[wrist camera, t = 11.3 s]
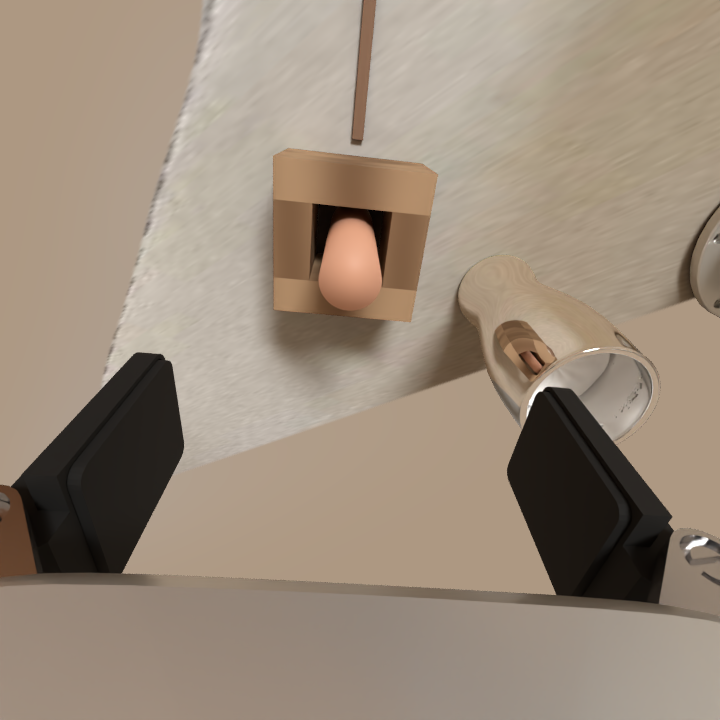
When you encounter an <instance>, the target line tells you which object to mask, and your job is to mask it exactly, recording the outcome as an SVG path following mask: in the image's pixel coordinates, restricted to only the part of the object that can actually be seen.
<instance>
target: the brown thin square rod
mask: <svg viewBox="0 0 720 720" xmlns="http://www.w3.org/2000/svg"><path fill="white" fill-rule="evenodd" d="M375 7H376V0H364V2H363V14H362V26H361V38H360V50H359V62H358V74H357V86H356V98H355V110H354V122H353V134H352V139H358V140H363V133H364V123H365V112H366V102H367V91H368V81H369V70H370V60H371V49H372V39H373V28H374V18H375Z"/></svg>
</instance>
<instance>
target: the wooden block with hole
mask: <svg viewBox="0 0 720 720" xmlns="http://www.w3.org/2000/svg"><path fill="white" fill-rule="evenodd" d="M437 177H438V174H436V173H435V172H433V171H432V170H431V169H429V168H428V167H426V166H425V165H423V164H420V163H412V162H403V161H394V160H386V159H377V158H368V157H359V156H351V155H342V154H333V153H325V152H316V151H307V150H299V149H290V148H288V149H286V150H284V151H282V152H280V153H278V154H276V155H274V156H273V268H274V310H281V311H292V312H303V313H314V314H326V315H337V316H348V317H359V318H371V319H382V320H393V321H404V322H411V318H412V312H413V307H414V302H415V296H416V291H417V285H418V280H419V275H420V269H421V264H422V258H423V253H424V247H425V242H426V237H427V231H428V226H429V220H430V215H431V209H432V204H433V199H434V193H435V188H436V182H437ZM319 204H324V205H333V206H342V207H352V208H361V209H371V210H380V211H383V218H382V226H381V234H380V242H379V250H378V258H379V264H380V269H381V275H382V286H381V290H380V292H379V294H378V296H377V298H376V299H375V300H374V301H373V302H372V303H371V304H370V305H368V306H367V307H365V308H362V309H360V310H354V311H347V310H342V309H339V308H336V307H334V306H333V305H331V304H330V303H329V302H328V301H327V300H326V299H325V298H324V296H323V295H322V293H321V291H320V287H319V273H320V268H321V264H322V259H323V255H324V254H321V253H316V252H317V232H318V212H319Z"/></svg>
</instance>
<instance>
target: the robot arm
mask: <svg viewBox="0 0 720 720" xmlns="http://www.w3.org/2000/svg"><path fill="white" fill-rule="evenodd" d="M690 284H691V287H692V291H693V294H694V296H695V298H696V299H697V301H698V302H699V304H700V305H701V306H702V307H704V308H705V309H706V310H707V311H708V312H710V313H712V314H714V315H716V316H717V317H719V318H720V206H719V208H718V209H717V210H716V212H715V213H714V214H713V216H712V217H711V218H710V220H709V221H708V222H707V224H706V226H705V228H704V230H703V231H702V233H701V235H700V237H699V238H698V241H697V244H696V246H695V249H694V252H693V254H692V260H691V265H690ZM183 450H184V439H183V433H182V426H181V420H180V413H179V407H178V400H177V394H176V387H175V380H174V374H173V367H172V364H171V362H170V361H166V360H165V358H164V356H163V355H161V354H152V353H140V352H138V353H135V354H134V355H133V356H132V357H131V358H130V359H129V360H128V361H127V362H126V363H125V364H124V365H123V367H122V368H121V369H120V370H119V371H118V372H117V373H116V374H115V375H114V376H113V377H112V378H111V379H110V380H109V382H108V383H107V384H106V385H105V386H104V387H103V388H102V389H101V390H100V391H99V392H98V393H97V394H96V396H95V397H94V398H93V399H92V400H91V401H90V402H89V403H88V404H87V405H86V406H85V407H84V408H83V409H82V410H81V412H80V413H79V414H78V415H77V416H76V417H75V418H74V419H73V420H72V421H71V422H70V423H69V425H67V427H66V428H65V429H64V430H63V431H62V432H61V433H60V434H59V435H58V436H57V437H56V438H55V439H54V440H53V442H52V443H51V444H50V445H49V446H48V447H47V448H46V449H45V450H44V451H43V452H42V453H41V454H40V455H39V457H38V458H37V459H36V460H35V461H34V462H33V463H32V464H31V465H30V466H29V467H28V468H27V469H26V470H25V471H24V473H23V474H22V475H21V477H20V478H19V479H18V480H17V481H16V482H15V483H14V484H13V485H12V486H11V487H10V486H6V485H0V720H720V539H719V538H717V537H715V536H713V535H710V534H708V533H705V532H703V531H699V530H695V529H691V528H681V529H678V530H676V531H674V530H673V529H672V528H671V526H670V525H669V524H668V522H669V521H670V519H671V518H672V515H671V514H670V513H669V512H668V510H667V509H666V508H665V507H664V506H663V504H662V503H661V502H660V500H659V499H658V498H657V497H656V495H655V494H654V493H653V492H652V490H651V489H650V488H649V486H648V485H647V484H646V483H645V481H644V480H643V479H642V478H641V476H640V475H639V474H638V472H637V471H636V470H635V469H634V467H633V466H632V465H631V464H630V462H629V461H628V460H627V458H626V457H625V456H624V455H623V454H622V452H621V451H620V450H619V448H618V447H617V446H616V445H615V443H614V442H613V441H612V439H611V438H610V437H609V436H608V434H607V433H606V432H605V431H604V429H603V428H602V427H601V426H600V424H599V423H598V422H597V420H596V419H595V418H594V417H593V415H592V414H591V413H590V412H589V410H588V409H587V408H586V407H585V405H584V404H583V403H582V401H581V400H580V399H579V398H578V396H577V395H576V394H575V393H574V391H573V390H571V389H569V388H560V387H546V388H545V389H544V390H543V391H540V392H538V393H537V394H536V396H535V398H534V401H533V403H532V406H531V408H530V411H529V413H528V416H527V419H526V421H525V424H524V426H523V429H522V431H521V434H520V436H519V439H518V442H517V444H516V446H515V449H514V452H513V454H512V457H511V459H510V462H509V464H508V468H507V476H508V480H509V482H510V485H511V487H512V489H513V492H514V494H515V497H516V499H517V501H518V504H519V506H520V509H521V511H522V513H523V516H524V518H525V521H526V523H527V525H528V528H529V530H530V532H531V535H532V537H533V539H534V542H535V544H536V547H537V549H538V552H539V554H540V556H541V559H542V561H543V563H544V566H545V568H546V571H547V573H548V575H549V578H550V580H551V583H552V585H553V587H554V590H555V592H556V595H543V594H525V593H508V592H492V591H474V590H455V589H440V588H421V587H401V586H383V585H363V584H345V583H326V582H305V581H286V580H264V579H243V578H222V577H201V576H178V575H150V574H149V575H148V574H121V573H122V572H123V570H124V568H125V566H126V564H127V562H128V560H129V558H130V556H131V554H132V552H133V550H134V548H135V546H136V544H137V543H138V541H139V539H140V537H141V535H142V533H143V531H144V529H145V527H146V525H147V523H148V521H149V519H150V517H151V515H152V513H153V511H154V509H155V507H156V505H157V504H158V501H159V500H160V498H161V496H162V494H163V492H164V490H165V488H166V486H167V484H168V482H169V480H170V478H171V476H172V474H173V472H174V470H175V469H176V467H177V465H178V463H179V461H180V459H181V457H182V454H183Z"/></svg>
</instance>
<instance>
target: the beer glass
mask: <svg viewBox="0 0 720 720" xmlns="http://www.w3.org/2000/svg"><path fill="white" fill-rule="evenodd" d="M458 303H459V307H460V310H461V312H462V313H463V315H464V316H465V317H466V319H467V320H468V321H469V322H470V323H472V324H473V325H474V326H475V327H477V329H478V333H479V338H480V344H481V349H482V354H483V358H484V362H485V365H486V368H487V372H488V374H489V376H490V379H491V381H492V383H493V385H494V387H495V389H496V391H497V393H498V395H499V396H500V398H501V400H502V401H503V403H504V405H505V406H506V408H507V409H508V410H509V412H510V414H511V415H512V417H513V418H514V419H515V421H516V422H517V424H518V425H519V426H520V428H521V429H523V426H524V424H525V421H526V419H527V416H528V413H529V411H530V408H531V406H532V403H533V401H534V398H535V396H536V394H537V393H538V392H540V391H543V390H544V389H545V388H546V387H560V388H569V389H571V390H573V391H574V393H575V394H576V395H577V396H578V398H579V399H580V400H581V401H582V403H583V404H584V405H585V407H586V408H587V409H588V410H589V412H590V413H591V414H592V415H593V417H594V418H595V419H596V420H597V422H598V423H599V424H600V426H601V427H602V428H603V429H604V431H605V432H606V433H607V434H608V436H609V437H610V438H611V439H612V441H613V442H614V443H615V445H617V444H619V443H621V442H622V441H624V440H625V439H627V438H628V437H630V436H631V435H632V434H634V433H635V432H636V431H637V430H638V429H639V428H640V427H641V426H642V425H643V424H644V423H645V422H646V421H647V420H648V418H649V417H650V415H651V414H652V412H653V411H654V409H655V407H656V404H657V402H658V399H659V395H660V378H659V374H658V372H657V370H656V368H655V366H654V365H653V363H652V362H651V361H650V360H649V359H648V358H647V357H645V356H644V355H643V354H642V353H640V351H638V349H637V348H636V347H635V346H634V345H633V344H632V343H631V342H630V341H629V340H628V339H627V338H626V337H625V336H624V335H623V334H622V333H621V332H620V331H619V330H618V329H617V328H616V327H615V326H614V325H613V324H612V323H610V322H609V321H608V320H607V319H606V318H605V317H604V316H602V315H601V314H600V313H598V312H597V311H595V310H594V309H593V308H591V307H590V306H588V305H587V304H585V303H584V302H582V301H580V300H578V299H576V298H574V297H572V296H570V295H568V294H566V293H563V292H561V291H558V290H556V289H553V288H551V287H548V286H546V285H543V284H541V283H539V282H538V281H537V279H536V276H535V274H534V272H533V271H532V269H531V268H530V266H529V265H528V264H527V263H526V262H524V261H523V260H521V259H519V258H517V257H514V256H511V255H495V256H491V257H488V258H485V259H483V260H481V261H480V262H478V263H477V264H475V265H474V266H473V267H472V268H471V269H470V270H469V271H468V272H467V273H466V275H465V276H464V278H463V279H462V281H461V284H460V287H459V291H458Z"/></svg>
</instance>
